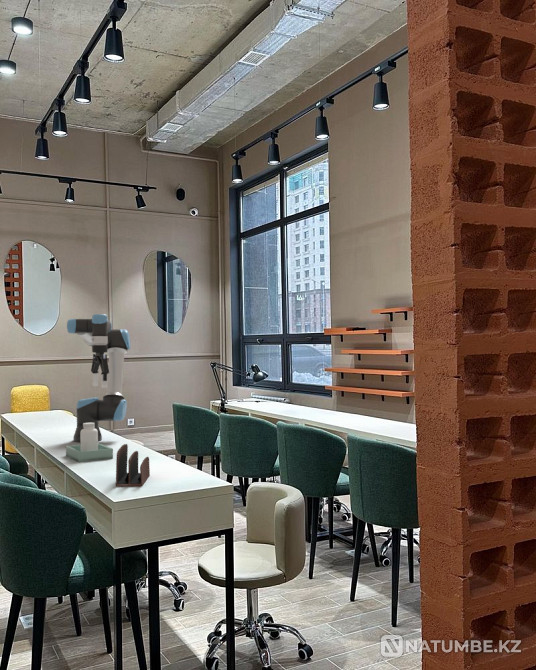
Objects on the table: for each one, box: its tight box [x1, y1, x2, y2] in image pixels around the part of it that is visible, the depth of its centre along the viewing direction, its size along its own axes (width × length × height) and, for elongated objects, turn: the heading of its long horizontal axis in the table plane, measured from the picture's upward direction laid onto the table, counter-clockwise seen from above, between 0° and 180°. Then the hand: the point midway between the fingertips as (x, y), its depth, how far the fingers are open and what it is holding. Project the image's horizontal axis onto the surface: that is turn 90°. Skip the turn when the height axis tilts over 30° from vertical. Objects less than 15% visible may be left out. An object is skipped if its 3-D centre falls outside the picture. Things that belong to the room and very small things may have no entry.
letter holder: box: [115, 443, 151, 488], centre depth 254 cm, size 10×20×14 cm, turn 2°
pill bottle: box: [80, 423, 99, 451], centre depth 307 cm, size 8×8×15 cm
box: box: [65, 442, 114, 463], centre depth 307 cm, size 20×16×4 cm
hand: (99, 386), depth 328 cm, fingers open, 13 cm apart
